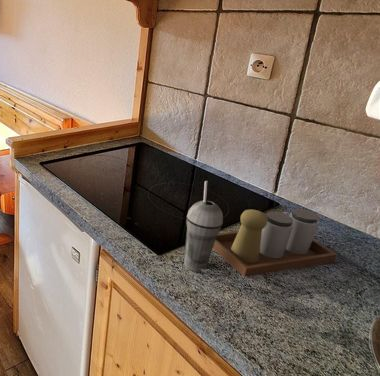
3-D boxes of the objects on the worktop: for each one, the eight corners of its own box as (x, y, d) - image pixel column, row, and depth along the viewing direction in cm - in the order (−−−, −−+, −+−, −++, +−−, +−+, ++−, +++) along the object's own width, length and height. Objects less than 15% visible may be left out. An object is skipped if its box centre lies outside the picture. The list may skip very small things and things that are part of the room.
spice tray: (286, 233, 102) (289, 223, 101) (333, 264, 90) (337, 254, 89) (204, 244, 97) (207, 234, 96) (243, 279, 85) (246, 268, 84)
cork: (231, 245, 95) (242, 203, 91) (260, 252, 93) (272, 210, 88) (227, 257, 91) (238, 214, 86) (257, 266, 88) (270, 222, 83)
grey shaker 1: (270, 243, 97) (280, 209, 93) (289, 256, 92) (301, 222, 88) (250, 246, 95) (259, 212, 91) (268, 260, 90) (279, 225, 86)
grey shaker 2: (294, 239, 98) (305, 206, 94) (314, 252, 93) (327, 218, 89) (275, 242, 97) (285, 209, 93) (294, 256, 92) (305, 221, 88)
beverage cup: (208, 279, 85) (228, 193, 76) (173, 268, 88) (189, 184, 79) (215, 262, 90) (234, 180, 82) (182, 252, 94) (197, 172, 85)
